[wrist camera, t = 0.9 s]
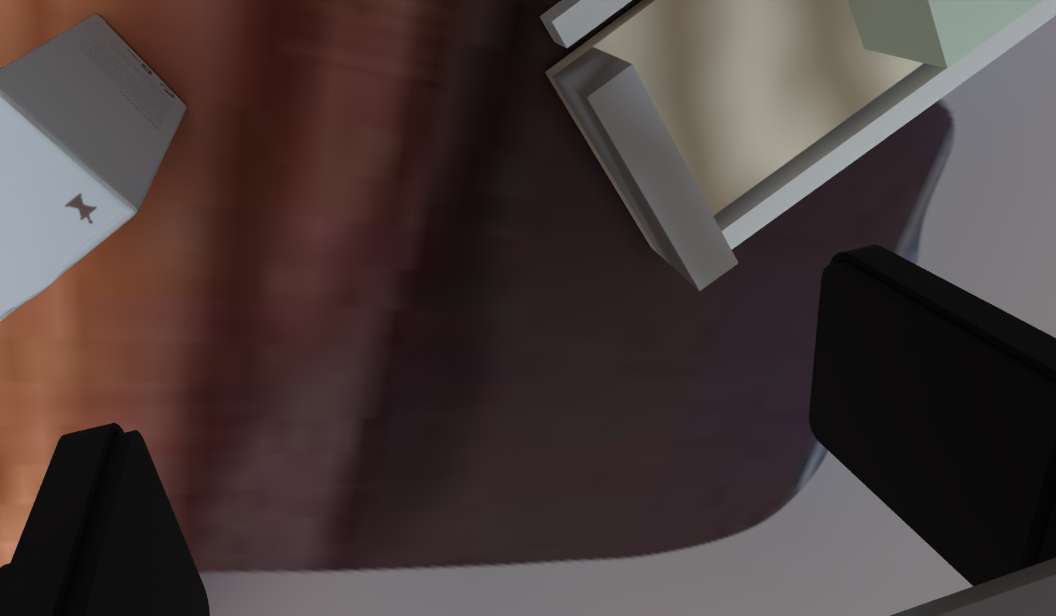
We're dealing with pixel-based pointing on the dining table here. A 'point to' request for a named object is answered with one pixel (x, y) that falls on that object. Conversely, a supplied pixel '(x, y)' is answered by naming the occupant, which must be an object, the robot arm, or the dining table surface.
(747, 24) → the beige piece
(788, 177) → the lane rails
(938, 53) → the block
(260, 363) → the dining table surface
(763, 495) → the dining table surface
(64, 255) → the skincare box
